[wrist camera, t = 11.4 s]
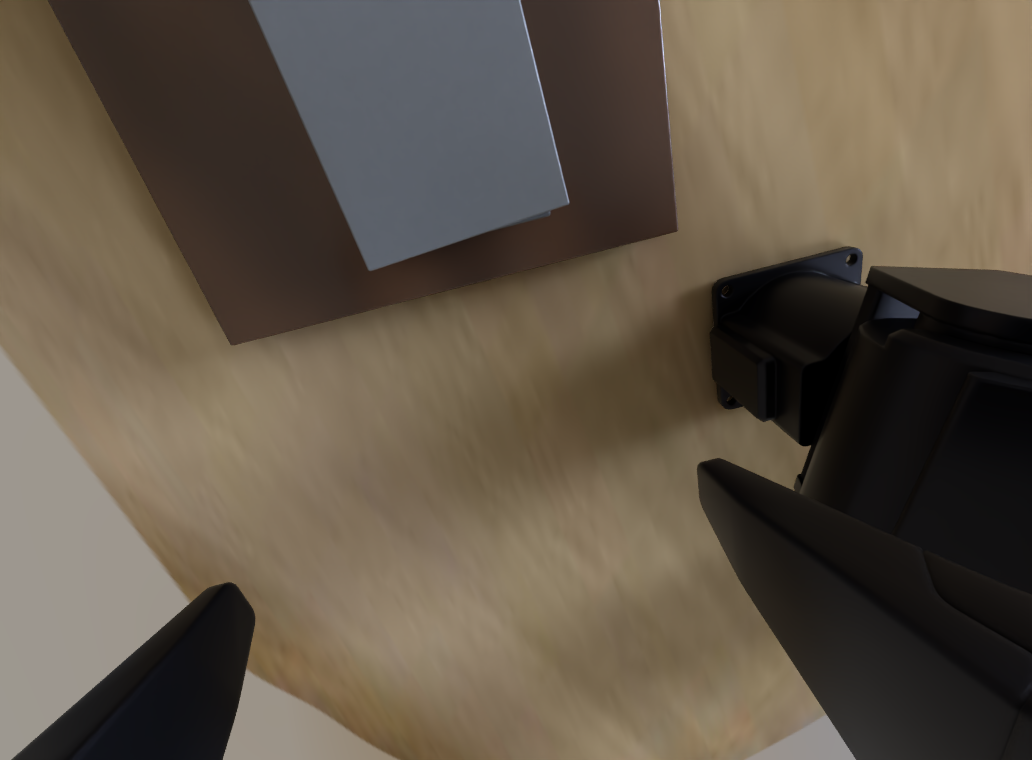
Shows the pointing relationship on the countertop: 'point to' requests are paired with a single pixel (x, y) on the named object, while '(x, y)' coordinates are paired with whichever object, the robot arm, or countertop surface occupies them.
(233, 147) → the walnut board
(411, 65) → the grey stack
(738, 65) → the countertop surface
